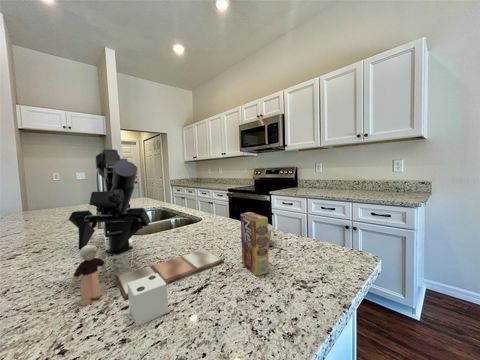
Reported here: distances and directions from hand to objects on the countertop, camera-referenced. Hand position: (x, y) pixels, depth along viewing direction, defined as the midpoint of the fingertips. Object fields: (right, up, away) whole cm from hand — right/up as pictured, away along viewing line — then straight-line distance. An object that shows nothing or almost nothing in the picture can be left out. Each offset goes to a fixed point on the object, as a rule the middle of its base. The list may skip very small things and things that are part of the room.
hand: (99, 248), depth 52 cm
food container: (+41, -7, +27) cm, 50 cm away
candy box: (+39, -8, +8) cm, 41 cm away
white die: (+16, -10, -8) cm, 20 cm away
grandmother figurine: (0, -11, -3) cm, 11 cm away
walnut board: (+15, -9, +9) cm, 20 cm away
